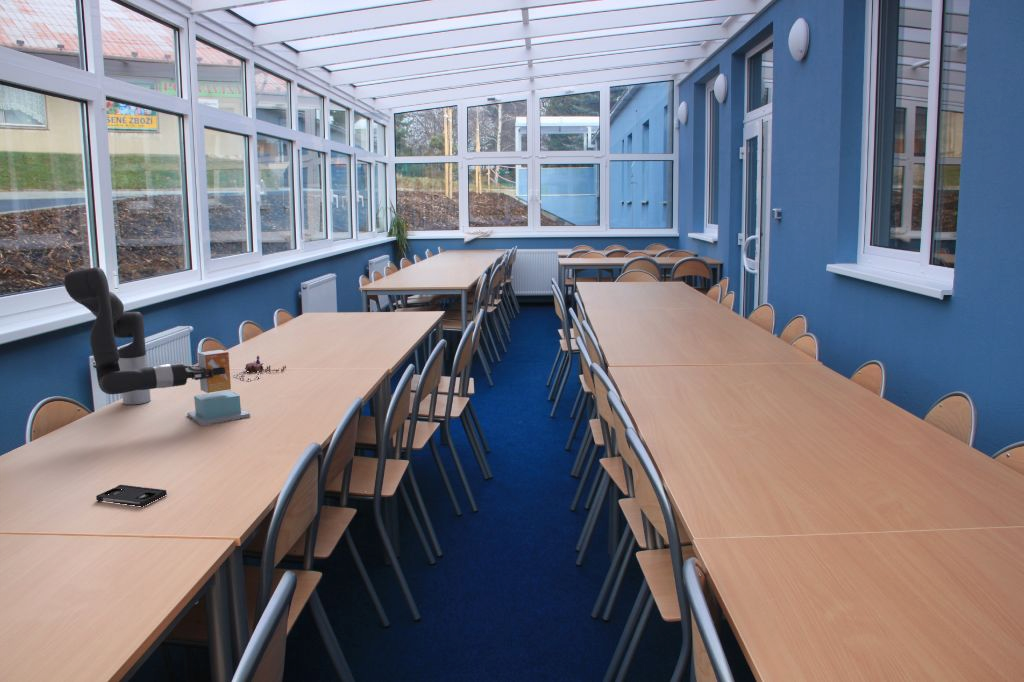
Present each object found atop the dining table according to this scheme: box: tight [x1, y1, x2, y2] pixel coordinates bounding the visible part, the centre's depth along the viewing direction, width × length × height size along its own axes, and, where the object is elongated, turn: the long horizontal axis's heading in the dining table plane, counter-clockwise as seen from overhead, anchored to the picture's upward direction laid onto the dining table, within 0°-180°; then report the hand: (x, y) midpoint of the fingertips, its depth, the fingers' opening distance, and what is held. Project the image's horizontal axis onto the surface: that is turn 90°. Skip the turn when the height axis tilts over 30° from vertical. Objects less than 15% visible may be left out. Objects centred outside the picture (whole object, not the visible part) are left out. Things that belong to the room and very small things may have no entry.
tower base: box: [186, 389, 251, 427], centre depth 258 cm, size 16×16×7 cm
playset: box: [233, 355, 287, 381], centre depth 321 cm, size 25×19×7 cm
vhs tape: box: [95, 484, 168, 507], centre depth 188 cm, size 14×8×2 cm, turn 72°
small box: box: [197, 349, 232, 394], centre depth 256 cm, size 8×6×13 cm
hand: (221, 368), depth 257 cm, fingers closed on small box, 6 cm apart
